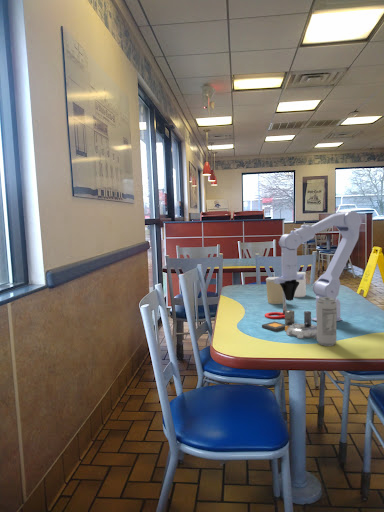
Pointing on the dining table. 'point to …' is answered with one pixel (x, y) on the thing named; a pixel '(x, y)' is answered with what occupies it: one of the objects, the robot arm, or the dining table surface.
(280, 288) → the coffee cup
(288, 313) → the roller
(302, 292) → the white upright block
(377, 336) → the dining table surface
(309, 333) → the sprocket
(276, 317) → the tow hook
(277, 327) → the pad
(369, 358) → the dining table surface
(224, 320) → the dining table surface
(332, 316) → the energy drink can
